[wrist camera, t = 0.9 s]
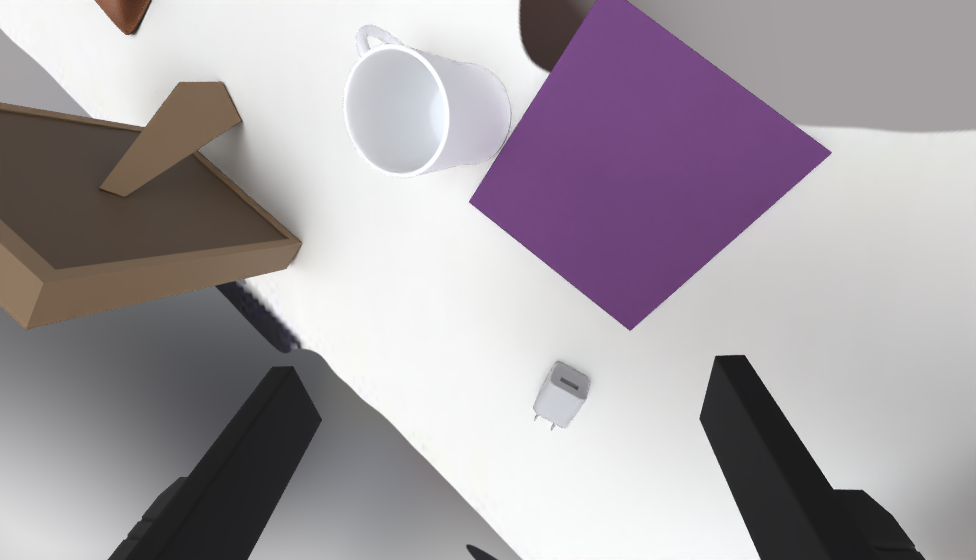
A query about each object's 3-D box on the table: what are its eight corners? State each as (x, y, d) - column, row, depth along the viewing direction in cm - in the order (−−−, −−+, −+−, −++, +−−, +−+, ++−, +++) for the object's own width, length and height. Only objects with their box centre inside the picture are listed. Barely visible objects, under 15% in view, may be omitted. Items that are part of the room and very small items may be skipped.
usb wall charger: (590, 378, 41) (585, 402, 37) (563, 420, 44) (556, 446, 41) (556, 360, 42) (548, 381, 38) (531, 402, 45) (522, 426, 41)
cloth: (829, 152, 27) (832, 152, 27) (630, 329, 37) (629, 331, 37) (606, -14, 29) (605, -16, 28) (470, 201, 38) (468, 202, 38)
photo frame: (292, 266, 51) (29, 375, 29) (171, 160, 52) (-171, 188, 30) (331, 175, 43) (17, 230, 22) (190, 52, 44) (-248, -12, 22)
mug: (391, 69, 36) (290, 48, 26) (460, 4, 32) (373, -51, 22) (455, 181, 38) (384, 203, 28) (528, 132, 34) (477, 138, 24)
